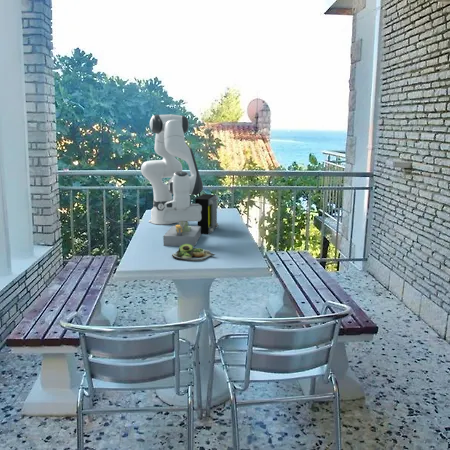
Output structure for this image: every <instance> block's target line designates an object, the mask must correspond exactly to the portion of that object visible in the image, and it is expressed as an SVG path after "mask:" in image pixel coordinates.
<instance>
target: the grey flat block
mask: <svg viewBox="0 0 450 450" xmlns="http://www.w3.org/2000/svg"><path fill="white" fill-rule="evenodd" d="M190 226H191V230H190V231H189V232H182V235H181V236H178V235H177V231H176V225H171V226H170V227H169V229H168V230H166V231H167V232H165V233H164V234H163V236H162V238H163V240H162V241H163V246H174V247H178V246H179V247H180V246H181V245H183V244H191V245H192V246H193V247H195V246H196V244H197V243H198V241H199V240H200V238H201V235H202V234H201V226H198V225H190Z"/></svg>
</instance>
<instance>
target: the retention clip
mask: <svg viewBox="0 0 450 450" xmlns="http://www.w3.org/2000/svg"><path fill="white" fill-rule="evenodd" d="M175 226H176V230H177V235H178V236H181V235H182V228H181V226H180V225H179V224H175Z"/></svg>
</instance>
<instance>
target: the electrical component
mask: <svg viewBox="0 0 450 450" xmlns="http://www.w3.org/2000/svg"><path fill="white" fill-rule="evenodd" d="M218 200H219V197H218V196H217V195H216V194H210V193H209V194H207V193H206V194H205V193H202V194H201V195H200V196H197V197H196V198H195V203H194V204H197V203H198V204H200V205H201V206H202V211H201V217H202V219H201V220H200V221H197V226H201V235H210V234H212V233H214V230H215V229H216V228H218V227H219V223H218V206H217V205H218ZM200 205H199V206H200Z"/></svg>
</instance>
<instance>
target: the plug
mask: <svg viewBox="0 0 450 450" xmlns="http://www.w3.org/2000/svg"><path fill="white" fill-rule="evenodd" d="M181 224H182V226H183V224H184V223H183V221H182V223H181ZM191 226H192V225H189V221H186V223H185V225H184V230H182V232H189V231H190V230H191ZM176 231H177V230H176Z"/></svg>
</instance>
